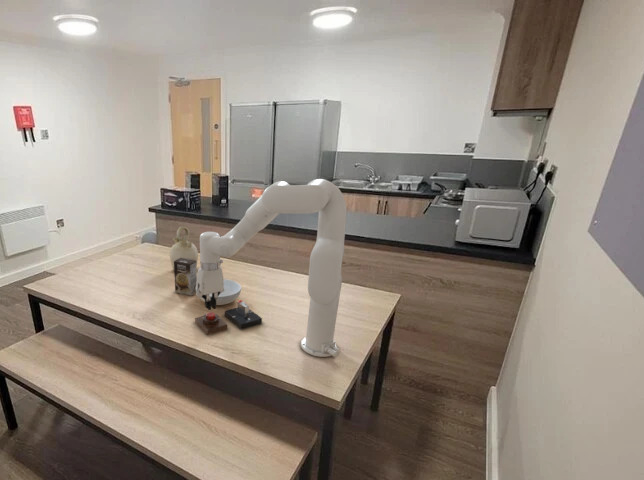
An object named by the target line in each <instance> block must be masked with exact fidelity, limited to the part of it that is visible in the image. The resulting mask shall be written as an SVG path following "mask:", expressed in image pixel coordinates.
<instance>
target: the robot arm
mask: <svg viewBox="0 0 644 480" xmlns="http://www.w3.org/2000/svg"><path fill="white" fill-rule="evenodd" d="M315 213H318V218H317V232H316V233H317V234H316V239H315V244H314V246H313V248H312V250H311V252H310V257H309V264H308V265H309V266H308V267H309V268H308V279H307V280H308V282H307V293H308V296H309V305H308V306H309V307H308V315H307V326H306V335H305V337H304V338H303V339H302V340H301V342H300V347H301V349H302V350H303V351H304V352H305V353H307V354H309V355H311V356H314V357H319V358H320V357H321V358H325V357H326V358H327V357H331V356H332V357H334V358H336V357H337V356H338V353H339V352H340V350H341V349H340V348H339V347H338V346H337V344H336V340H335V339H334V338H335V333H336V332H335V331H336V324H337V317H338V310H339V302H340V298H341V297H340V296H341V290H342V286H343V285H342V284H343V275H342V267H343V259H344V256H345V239H346V238H345V237H346V225H347V224H346V222H347V204H346V199H345V196H344V195H343V193H342V191H341V189H340V188H339V187H338V186H337V185H336V184H334V183H332V182H331V181H329V180H327V179H323V178H317V179H313V180H311V181H309V182H308V183H306V184H294V185H293V184H290V183H288V182H287V181H283V180H279V181H275V182H273V183H272V184H270V185H269V186H267V187H266V188H265V189H264V190H263V193H262V194H261V195H260V197H258V199H256V200H255V202H253V203H252V204H251V205H250V207H248V208H247V210H246V211H245V214H244V216H243V217H242V219H240V221H239V222H238V223H237V224H236V225H235V226H233V228H232V229H231V230H230V231H228V232H227V233H226V234H224V235H222V236H221V235H220V234H219V233H218V232H216V231H204V232H202V233H200V235H199V266H200V267H199V268H198V269H197V272H196V273H197V282H196V289H197V293H196V297H197V298H198V299H200V298H204V299H205V302H204V307H205V308H206V309H207V310H208V311H211V310H212V309H214V310H215V309H217V305H216V299H217V298H218V296H219V294H220V293H222V292H224V280H223V279H224V271H223V268H222V266H221V264H223V263H224V259H221V257H224V258H231V257H233V256H234V255H236V253H237V252H238V251H240V250H241V249H242V248H243V247H244V246H245V245H246V244H247V243H249V241H251V239H252V238H254V236H255V235H256V234H258V233H259V232H260V231H262V230H264V229H265V228H267V226H268V225H269V224H270V223H271V222H272V221H273V220H274V219H276V217H277V216H278V215H280V214H315ZM211 293H212V297H211V298H209V294H211Z"/></svg>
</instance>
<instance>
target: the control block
mask: <svg viewBox="0 0 644 480" xmlns="http://www.w3.org/2000/svg"><path fill="white" fill-rule="evenodd" d="M206 314H207V313H205V314H204V315H201V316H198V317H195V318H194V324H196V325H197V327H199V328H200V329H201V330H202V331H203V332H204V333H205V334H206V335H212V334H216V333H219V332H222V331H225V330H228V324H227V322H225V321H224V320H223V319H222V318H221V317H220V316H219V314H217V313H215V319H213V320H208V319H207V318H206Z"/></svg>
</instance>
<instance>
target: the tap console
mask: <svg viewBox="0 0 644 480" xmlns="http://www.w3.org/2000/svg"><path fill="white" fill-rule="evenodd" d="M224 317H225V318H226V319H227V320H229V321H230V323H232V324H234V325H235V326H236V327H237V328H238V329H239V330H245V329H248V328H251V327H255V326H258V325H261V324H263V318H262V317H261V316H260V315H258V314H257V313H255V312H254V311H252V310H251V309H250V308H249V317H246V318H244V317H243V316H242V315H240V314H239V313H238V312H237V307H234V308H230V309H227V310H224Z"/></svg>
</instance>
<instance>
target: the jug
mask: <svg viewBox="0 0 644 480" xmlns="http://www.w3.org/2000/svg"><path fill="white" fill-rule="evenodd" d="M183 230H184V232H185V235H184V237H181V232H182V231H183ZM189 237H190V230H189V228H188V227H186V226H180V227H178V229H177V231H176V237H173V238H172V241H173V242H174V244H173V245H172V246H171V248H170V250H169V259H170V263H171V266H172V270H173V271H174V261H175V260H177V259H179V258H185V259H191V260H196V268H197V267H198V262H199V261H198V260H199V251H198V248H197V247H196V245H195V244H194V243H193V242H192V241H188V239H189Z"/></svg>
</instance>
